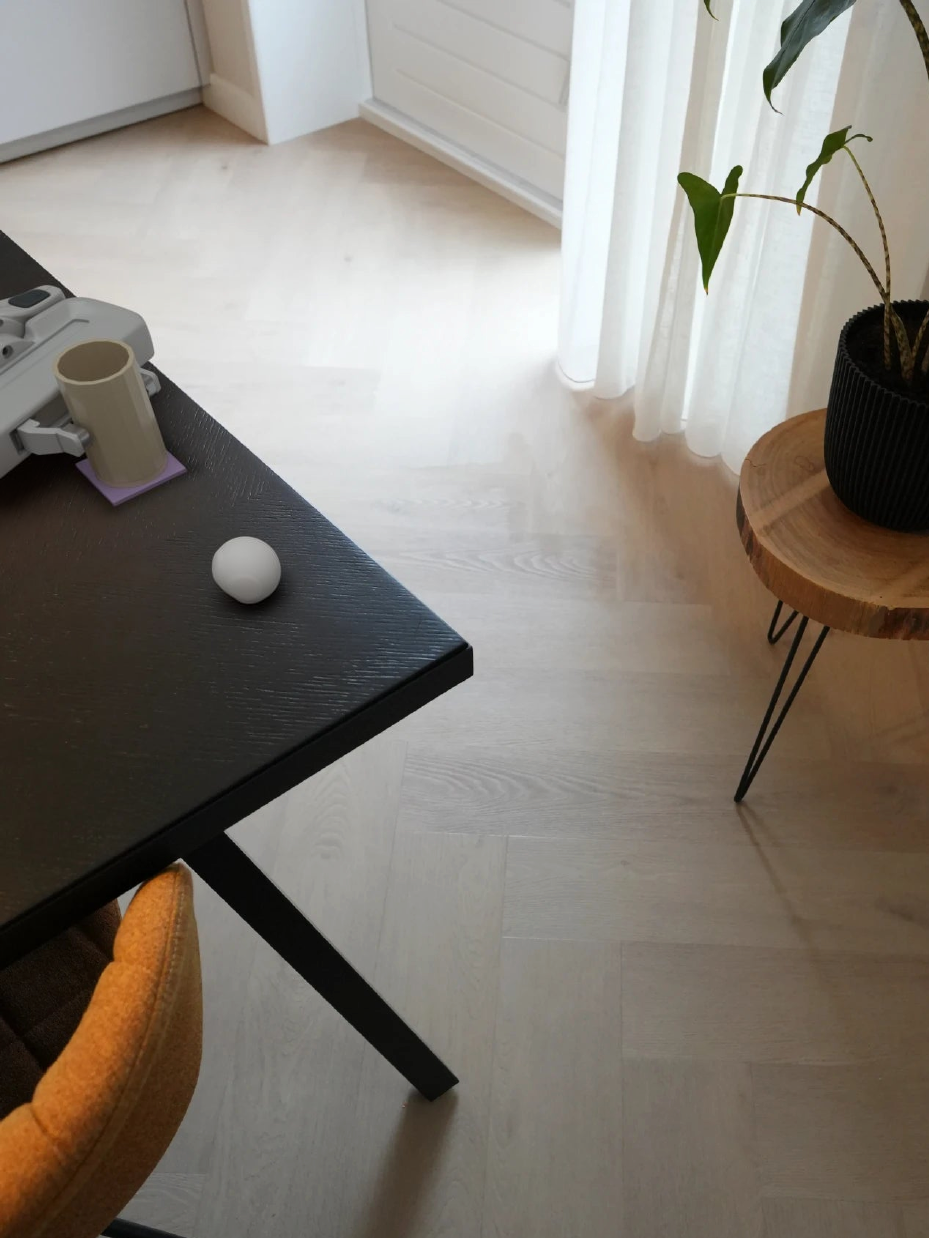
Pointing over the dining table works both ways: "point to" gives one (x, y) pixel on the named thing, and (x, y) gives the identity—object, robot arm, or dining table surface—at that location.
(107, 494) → the napkin
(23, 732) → the dining table surface
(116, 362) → the cup
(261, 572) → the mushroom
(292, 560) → the dining table surface
